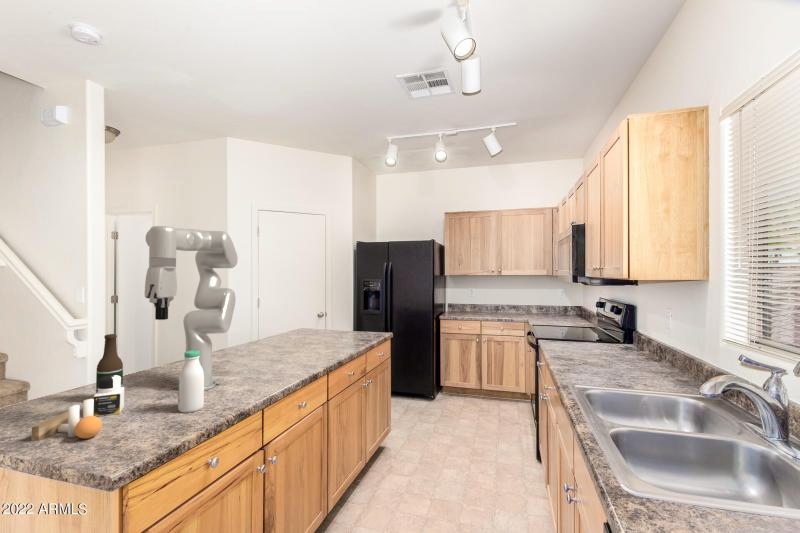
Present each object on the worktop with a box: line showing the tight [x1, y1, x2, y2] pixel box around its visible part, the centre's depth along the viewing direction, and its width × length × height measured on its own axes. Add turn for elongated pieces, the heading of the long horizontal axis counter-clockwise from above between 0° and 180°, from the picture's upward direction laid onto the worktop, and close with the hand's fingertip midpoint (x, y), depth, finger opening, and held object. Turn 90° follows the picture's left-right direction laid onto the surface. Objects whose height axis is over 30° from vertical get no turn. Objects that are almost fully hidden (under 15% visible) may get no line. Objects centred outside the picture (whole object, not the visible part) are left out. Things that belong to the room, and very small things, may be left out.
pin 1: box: [67, 404, 81, 438], centre depth 107 cm, size 2×2×8 cm
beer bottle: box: [95, 333, 124, 394], centre depth 137 cm, size 8×8×24 cm
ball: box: [75, 416, 103, 439], centre depth 106 cm, size 6×6×6 cm
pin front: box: [57, 424, 68, 433], centre depth 109 cm, size 2×2×8 cm
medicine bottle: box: [93, 375, 125, 417], centre depth 125 cm, size 7×7×12 cm
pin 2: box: [82, 398, 94, 419], centre depth 112 cm, size 2×2×8 cm
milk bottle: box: [177, 350, 205, 413], centre depth 128 cm, size 8×8×20 cm
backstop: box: [31, 410, 69, 442], centre depth 109 cm, size 2×12×4 cm, turn 1°
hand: (161, 319), depth 121 cm, fingers closed
